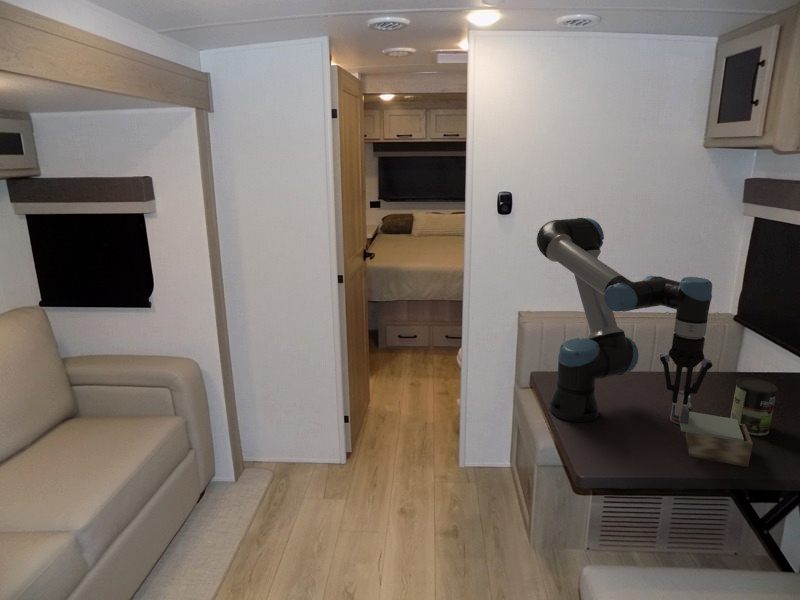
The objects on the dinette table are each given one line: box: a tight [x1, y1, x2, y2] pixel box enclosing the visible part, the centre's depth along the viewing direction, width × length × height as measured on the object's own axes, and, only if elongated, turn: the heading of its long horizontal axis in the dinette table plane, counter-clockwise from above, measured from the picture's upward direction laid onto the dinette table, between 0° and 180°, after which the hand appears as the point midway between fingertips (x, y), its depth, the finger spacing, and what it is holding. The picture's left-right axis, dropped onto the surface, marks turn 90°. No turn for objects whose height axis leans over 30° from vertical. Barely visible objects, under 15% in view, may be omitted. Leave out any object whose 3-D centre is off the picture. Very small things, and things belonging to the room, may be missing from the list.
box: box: [685, 423, 754, 468], centre depth 145 cm, size 14×11×7 cm
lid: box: [679, 406, 744, 442], centre depth 145 cm, size 15×12×4 cm
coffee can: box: [729, 377, 779, 437], centre depth 157 cm, size 10×10×14 cm
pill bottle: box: [669, 394, 692, 425], centre depth 161 cm, size 5×5×9 cm
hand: (677, 413), depth 148 cm, fingers closed
